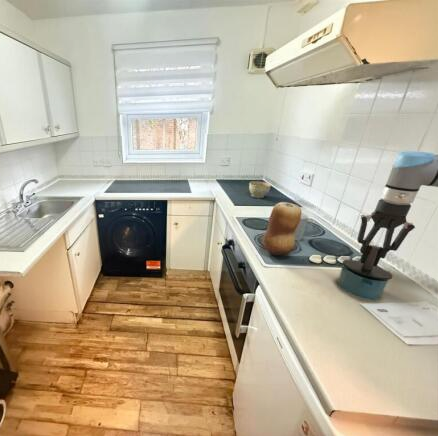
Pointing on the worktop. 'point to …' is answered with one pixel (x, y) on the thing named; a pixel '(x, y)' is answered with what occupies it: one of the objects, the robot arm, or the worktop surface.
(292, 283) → the worktop surface
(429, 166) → the robot arm
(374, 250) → the lid
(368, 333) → the worktop surface
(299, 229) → the clear glass cylinder
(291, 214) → the butternut squash
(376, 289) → the pot
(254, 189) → the planter bowl
